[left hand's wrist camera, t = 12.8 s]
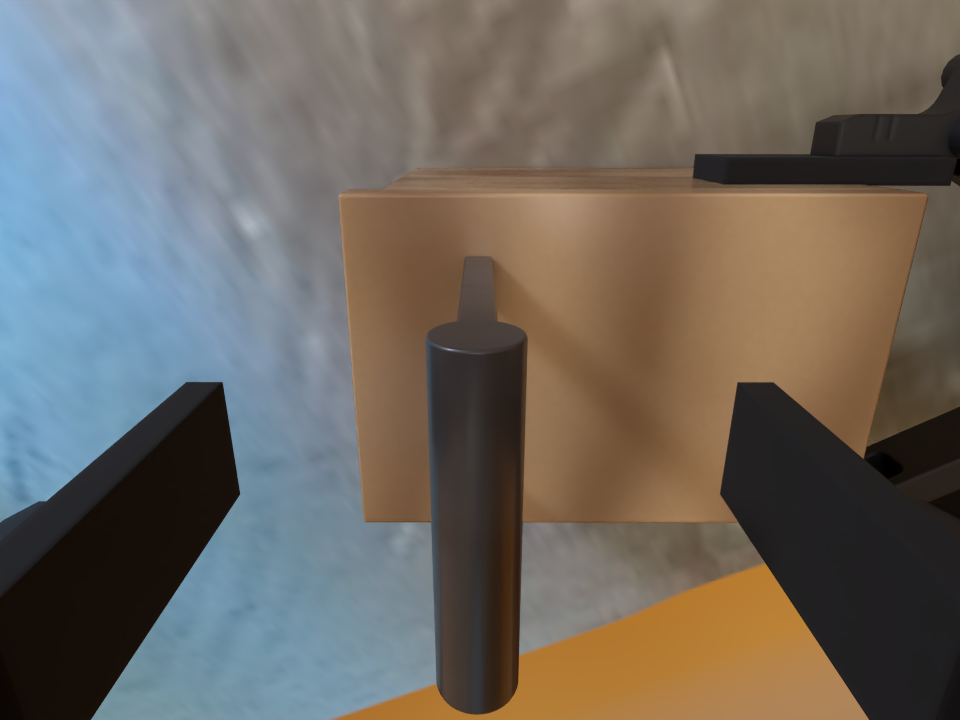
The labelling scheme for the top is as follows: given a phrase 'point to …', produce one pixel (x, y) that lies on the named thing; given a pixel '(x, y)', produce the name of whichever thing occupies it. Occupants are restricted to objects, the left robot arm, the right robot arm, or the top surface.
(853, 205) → the lid
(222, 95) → the top surface
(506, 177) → the chest
